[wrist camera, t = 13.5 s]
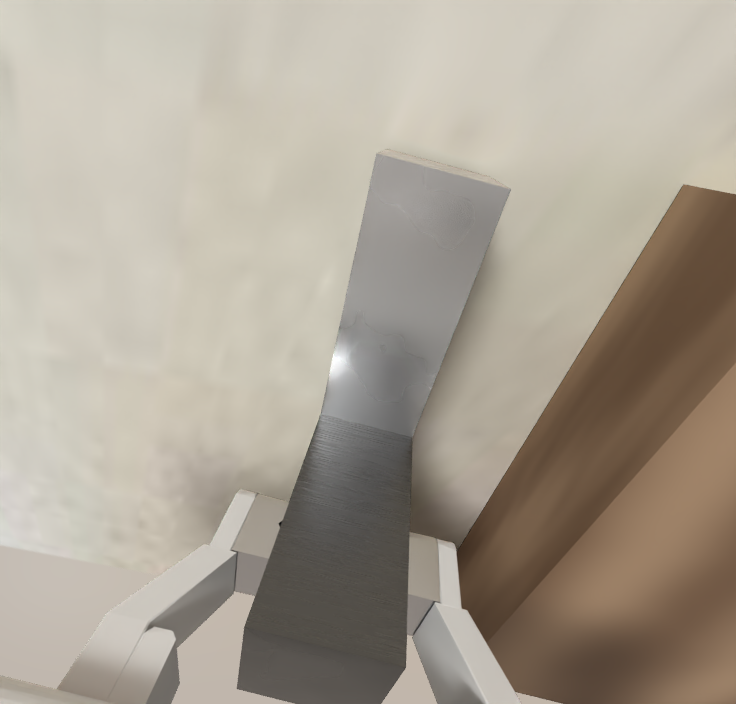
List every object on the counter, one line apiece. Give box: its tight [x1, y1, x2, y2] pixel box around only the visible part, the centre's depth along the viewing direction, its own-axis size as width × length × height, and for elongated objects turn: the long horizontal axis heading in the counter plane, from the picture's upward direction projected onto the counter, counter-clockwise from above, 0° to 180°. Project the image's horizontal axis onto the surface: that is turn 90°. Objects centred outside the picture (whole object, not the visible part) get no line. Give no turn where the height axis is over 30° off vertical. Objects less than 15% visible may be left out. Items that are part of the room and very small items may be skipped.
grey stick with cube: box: [237, 149, 511, 704], centre depth 11 cm, size 3×18×9 cm, turn 167°
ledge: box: [457, 185, 736, 704], centre depth 14 cm, size 10×20×5 cm, turn 167°
